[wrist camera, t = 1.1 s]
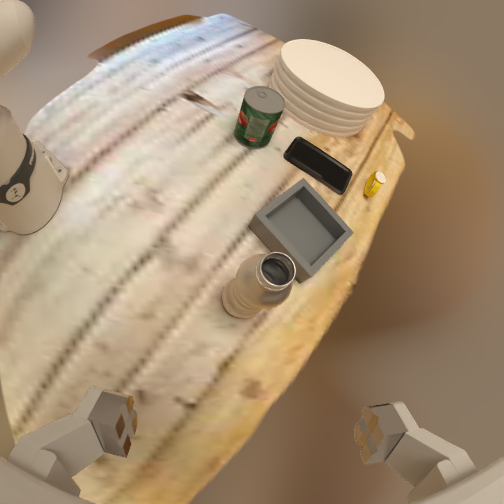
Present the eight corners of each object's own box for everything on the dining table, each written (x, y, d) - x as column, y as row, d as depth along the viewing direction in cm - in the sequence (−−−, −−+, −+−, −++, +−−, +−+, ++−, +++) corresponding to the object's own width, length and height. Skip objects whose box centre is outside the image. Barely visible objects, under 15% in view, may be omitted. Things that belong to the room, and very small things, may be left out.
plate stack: (301, 59, 73) (314, 32, 63) (375, 111, 72) (395, 87, 62) (246, 89, 63) (257, 54, 52) (339, 155, 62) (363, 125, 51)
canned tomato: (275, 146, 58) (292, 111, 48) (240, 151, 56) (252, 114, 45) (262, 120, 60) (276, 85, 50) (229, 124, 57) (238, 86, 47)
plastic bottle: (224, 276, 47) (251, 229, 28) (264, 286, 48) (313, 247, 29) (215, 314, 45) (237, 292, 26) (256, 323, 46) (305, 308, 27)
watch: (369, 202, 59) (383, 191, 54) (359, 196, 59) (373, 184, 54) (374, 182, 61) (387, 171, 56) (364, 176, 61) (377, 164, 55)
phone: (297, 135, 60) (353, 171, 60) (296, 138, 61) (351, 174, 61) (282, 155, 57) (343, 195, 57) (280, 158, 58) (340, 197, 58)
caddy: (248, 226, 51) (254, 214, 46) (294, 191, 55) (303, 178, 51) (299, 283, 49) (311, 276, 45) (340, 242, 54) (353, 232, 49)
